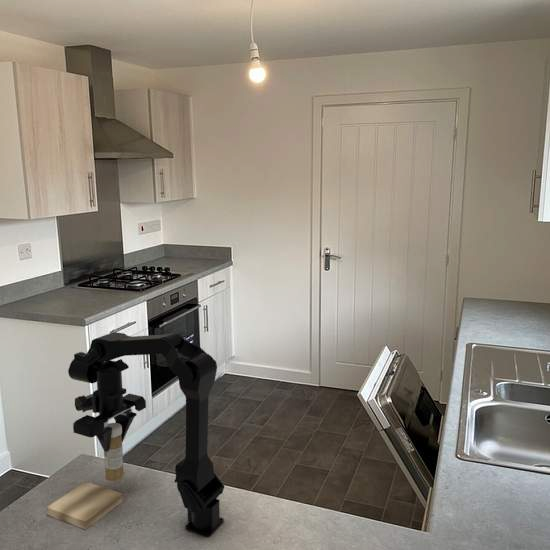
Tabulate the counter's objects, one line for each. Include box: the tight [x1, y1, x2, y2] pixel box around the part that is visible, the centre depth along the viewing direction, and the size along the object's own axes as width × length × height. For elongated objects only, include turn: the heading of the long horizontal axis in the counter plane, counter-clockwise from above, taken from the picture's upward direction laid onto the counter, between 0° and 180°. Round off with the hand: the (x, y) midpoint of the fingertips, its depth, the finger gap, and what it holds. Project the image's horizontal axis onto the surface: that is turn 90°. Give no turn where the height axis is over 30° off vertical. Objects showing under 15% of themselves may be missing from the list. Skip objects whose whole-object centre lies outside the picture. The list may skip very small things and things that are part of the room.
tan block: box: [46, 481, 124, 530], centre depth 129 cm, size 12×12×2 cm
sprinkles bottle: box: [103, 422, 125, 482], centre depth 132 cm, size 5×5×14 cm
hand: (113, 447), depth 131 cm, fingers closed on sprinkles bottle, 4 cm apart
